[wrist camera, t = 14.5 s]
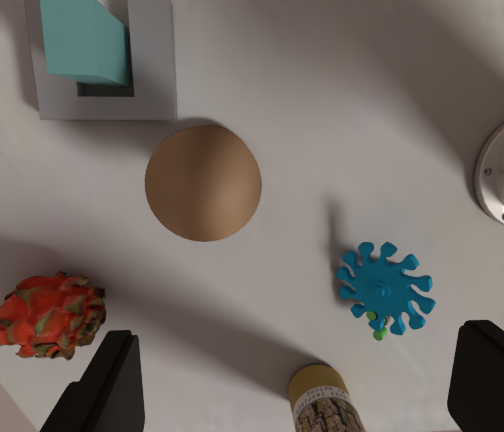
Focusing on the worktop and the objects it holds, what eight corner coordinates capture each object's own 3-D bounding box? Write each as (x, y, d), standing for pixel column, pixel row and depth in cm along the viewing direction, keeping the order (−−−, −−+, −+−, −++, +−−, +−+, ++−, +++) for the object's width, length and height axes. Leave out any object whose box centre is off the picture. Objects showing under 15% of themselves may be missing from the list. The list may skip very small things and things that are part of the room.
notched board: (172, 6, 33) (168, -1, 31) (177, 120, 36) (174, 120, 34) (35, 3, 32) (23, -5, 31) (50, 119, 35) (40, 119, 33)
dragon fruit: (131, 284, 41) (37, 302, 43) (88, 244, 35) (-21, 267, 37) (120, 362, 36) (13, 378, 38) (65, 332, 30) (-61, 353, 31)
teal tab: (128, 29, 34) (92, -4, 25) (130, 86, 35) (98, 75, 26) (88, 27, 33) (39, -7, 25) (93, 85, 34) (47, 73, 26)
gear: (338, 232, 38) (441, 266, 32) (364, 216, 42) (459, 243, 36) (328, 320, 42) (417, 364, 36) (352, 297, 46) (436, 334, 40)
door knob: (254, 125, 36) (262, 127, 28) (253, 213, 38) (260, 240, 30) (162, 125, 36) (140, 126, 27) (167, 214, 38) (148, 242, 29)
